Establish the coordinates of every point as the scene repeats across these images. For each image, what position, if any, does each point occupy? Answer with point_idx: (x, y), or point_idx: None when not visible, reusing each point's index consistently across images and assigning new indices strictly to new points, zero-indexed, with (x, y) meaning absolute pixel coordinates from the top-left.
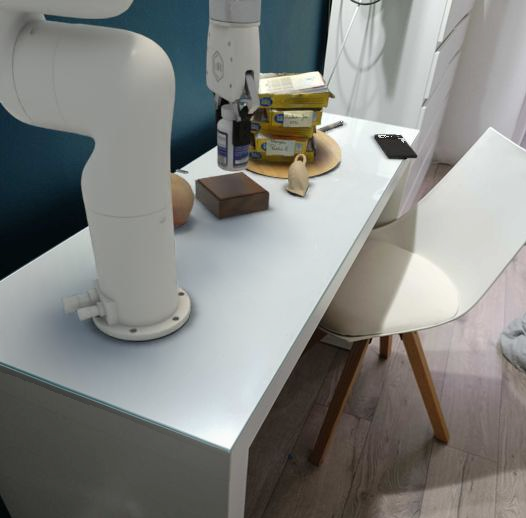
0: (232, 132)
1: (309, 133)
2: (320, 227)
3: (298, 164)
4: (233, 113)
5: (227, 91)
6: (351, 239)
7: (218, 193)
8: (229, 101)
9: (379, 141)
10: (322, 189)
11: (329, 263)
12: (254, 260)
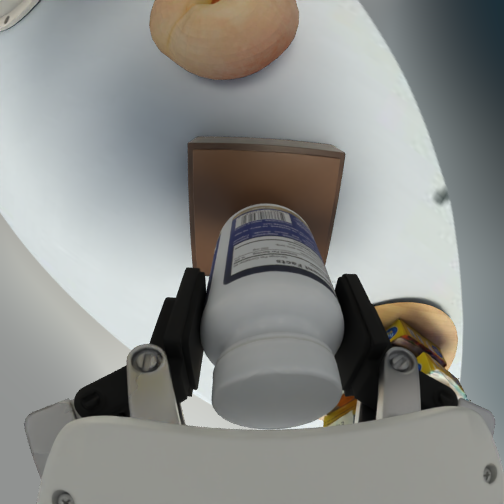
0: (189, 299)
1: (326, 421)
2: (112, 289)
3: None
4: (219, 378)
5: (111, 474)
6: (76, 301)
7: (224, 160)
8: (128, 417)
9: None
10: None
11: (27, 238)
12: (43, 139)
